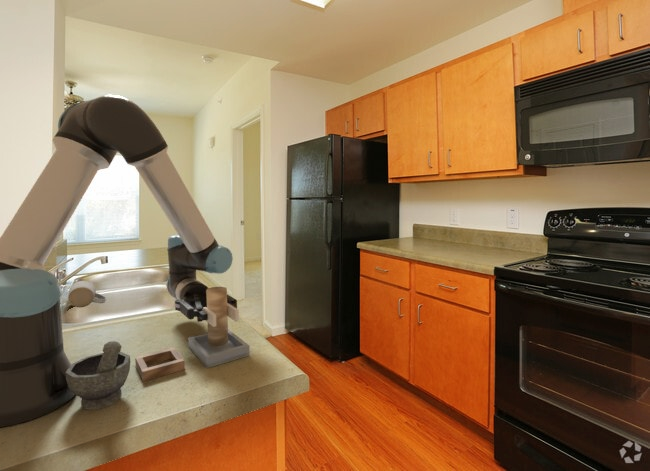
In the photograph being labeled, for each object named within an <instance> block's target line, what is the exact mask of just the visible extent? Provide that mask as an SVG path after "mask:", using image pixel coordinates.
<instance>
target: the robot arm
mask: <svg viewBox="0 0 650 471" xmlns="http://www.w3.org/2000/svg"><path fill="white" fill-rule="evenodd" d="M52 142H53V144H54V148H55V151H54V153H53V154H52V156H51V157H50V159H49V161H48V162H47V164H46V165H45V167H44V169H42V172H41V173H40V175H39V176H38V178H37V179H36V180H35V183H34V184H33V185H32V187H31V189H30V190H29V192H28V194H27V195H26V196H25V198H24V200H23V202H22V203H21V205H20V206H19V207H18V209H17V210H16V212H15V214H14V216H13V217H12V219H11V220H10V222H9V223H8V225H7V226H6V228H5V230H4V231H3V233H2V235H1V236H0V428H2V427H3V428H4V427H9V426H13V425H17V424H21V423H25V422H29V421H31V420H34V419H37V418H40V417H42V416H45V415H46V414H49V413H51V412H53V411H55V410H56V409H59V408H60V407H62V406H64V405H65V404H67V403H68V402H69V401H70V400H72V399H73V398H74V397H75V395H76V394H74V393H73V392H72V391H71V390H70V388H69V387H68V384H67V381H66V371H67V370H68V368H69V367H70V365H71V364H72V363H71V361H70V360H69V358H68V356H67V354H66V351H65V350H64V335H63V334H64V333H63V324H62V323H63V322H62V321H63V320H62V310H61V309H62V307H61V298H60V297H61V289H60V286H59V283H58V282H59V281H58V278H57V277H56V275H54V273H52V272H50V271H47V270H46V268H45V263H46V262H47V260H48V257H49V256H50V254H51V253H52V251H53V249H54V247H55V246H56V244H57V242H58V241H59V239H60V237H61V235H62V233H63V232H64V230H65V229H66V227H67V225H68V223H69V221H70V220H71V218H72V216H73V215H74V212H75V211H76V210H77V208H78V206H79V204H80V202H81V201H82V199H83V198H84V195H85V194H86V191H87V190H88V188H89V187H90V185H91V184H92V181H93V179H94V178H95V176H96V175H97V173H98V171H100V170H105V169H108V168H110V165H111V164H112V162H113V161H114V158H115V157H116V155H117V153H119V154H120V156H122V158H123V159H124V161H125V162H126V164H127V165H129V166H133V167H135V169H136V171H137V172H138V174H139V175H140V177H141V178H142V179H143V182H144V183H145V185H146V186H147V188H148V190H149V191H150V192H151V194H152V195H153V197H154V199H155V200H156V202H157V203H158V205H159V206H160V208H161V210H162V211H163V213H164V215H165V216H166V218H167V219H168V221H169V222H170V224H171V226H172V227H173V228H174V230H175V232H176V233H177V235H175V234H174V235H171V236H169V237H168V238H167V258H168V270H169V271H168V278H167V280H166V290H167V291H168V293H169V294H170V296H171V297H172V298H174V299H175V300H174V306H175V307H174V309H175V311H178V312H180V314H182V315H183V316H185V317H186V319H188V320H189V321H190V320H191V321H192V320H193V319H195V318H196V322H198V323H199V322H204V321H205V322H206V323H207V324H208V323H209V324H210V325H211V326H213V327H215V326H216V314H215V313H214V312H212V311H211V310H209V309H208V308H207V295H206V290H207V289H208V288H209V287H208V285H205V284H204V283H202V282H201V281H199V280H197V271H200V272H204V273H209V274H219V275H220V274H221V275H222V274H224V273H226V272H228V270H229V269H231V267H232V264H233V253H232V251H231V250H230V249H229V248H228V247H226V246H224V245H219V243H218V241H217V239H216V238H215V236H214V234H213V232H212V231H211V229H210V228H209V226H208V224H207V222H206V220H205V218H204V217H203V215H202V213H201V211H200V209H199V208H198V206H197V204H196V202H195V201H194V199H193V197H192V195H191V194H190V192H189V189H188V188H187V186H186V184H185V182H184V181H183V179H182V178H181V176H180V174H179V172H178V170H177V168H176V167H175V164H174V163H173V162H172V160H171V158H170V156H169V155H168V153H167V152H168V149H169V145H168V144H167V141H166V139H165V138H164V137H163V135H162V133H161V131H160V130H159V128H158V127H157V125H156V124H155V123H154V121H153V120H152V119H151V117H149V115H148V114H147V113H146V111H144V110H143V109H142V108H141V107H140V106H139V105H138V104H136V103H135V102H134V101H132V100H130V99H128V98H126V97H123V96H122V95H121V96H120V95H113V94H107V95H106V94H105V95H101V96H98V97H96V98H93V99H90V100H89V99H88V100H86V101H80V102H76V103H74V104H70V106H69V107H67V108H66V109H65V110H64V111H63V112H62V113H61V115H60V117H59V118H58V122H57V131H56V134H55V135H54V137H53V138H52ZM227 313H228V318H230V319H231V320H233V321H235V323H236V322H240V316H239V315H240V314H239V313H240V312H239V309H238V300H237V299H236V298H234V297H232V296H231V295H229V294H228V293H227Z"/></svg>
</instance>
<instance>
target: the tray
mask: <svg viewBox="0 0 650 471" xmlns="http://www.w3.org/2000/svg"><path fill="white" fill-rule="evenodd" d="M188 348H189V349H190V351H191V352H192V353H193V354H194V356H196V358H197V359H199V361H200V362H201V364H202V365H203V366H205V368H207V369H210V368H212V367H215V366H219V365H223V364H226V363H229V362H232V361H237V360H239V359H240V360H241V359H243V358H246V357H250V344H248V343H247V342H246V341H244V340H243V339H242V338H240V336H238V335H237V334H235V332H233V331H232V330H230V329H229V328H228V343H227V344H225V345H222V346H210V345H209V344H208V332H207V333H203V334H199V335H194V336H190V337H188Z"/></svg>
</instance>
